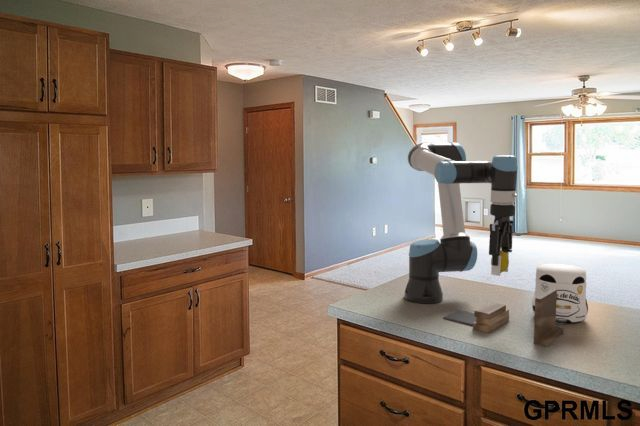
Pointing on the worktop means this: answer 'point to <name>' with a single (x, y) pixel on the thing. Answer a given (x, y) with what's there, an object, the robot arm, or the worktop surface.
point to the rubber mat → (461, 317)
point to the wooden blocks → (543, 320)
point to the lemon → (503, 261)
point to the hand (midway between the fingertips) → (499, 272)
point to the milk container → (564, 290)
